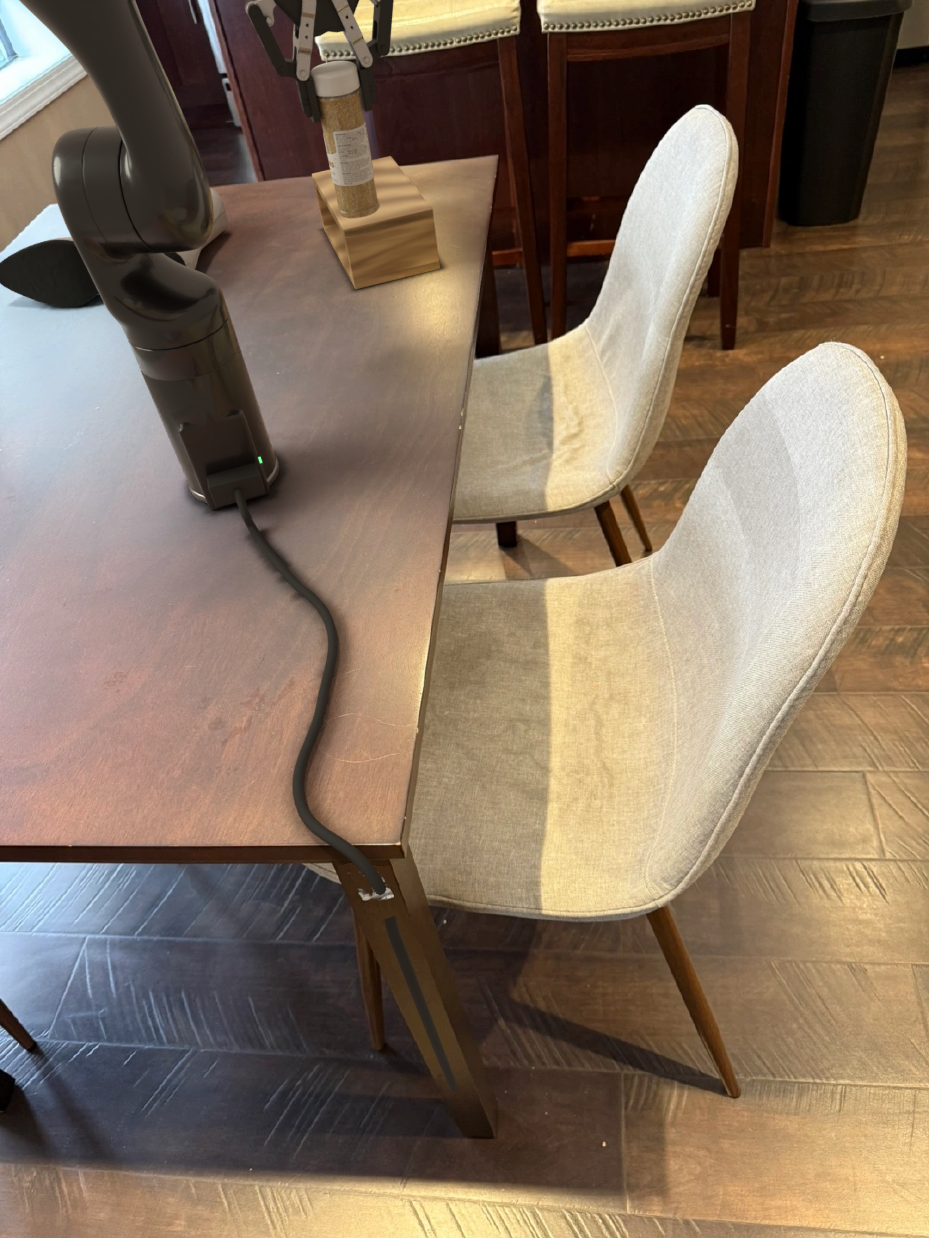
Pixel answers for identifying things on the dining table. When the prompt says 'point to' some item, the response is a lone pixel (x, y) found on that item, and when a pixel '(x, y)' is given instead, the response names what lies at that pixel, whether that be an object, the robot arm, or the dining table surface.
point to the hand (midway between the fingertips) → (341, 114)
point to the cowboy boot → (75, 267)
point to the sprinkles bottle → (346, 137)
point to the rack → (381, 228)
